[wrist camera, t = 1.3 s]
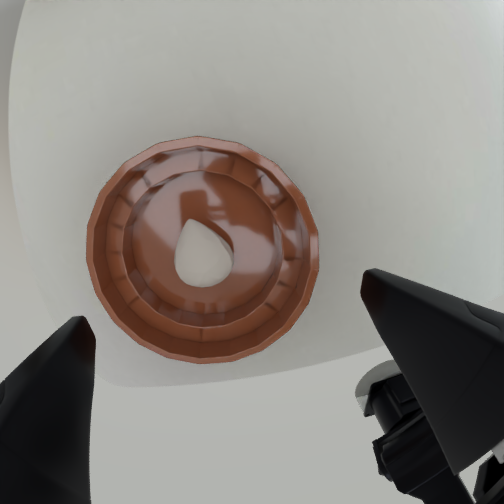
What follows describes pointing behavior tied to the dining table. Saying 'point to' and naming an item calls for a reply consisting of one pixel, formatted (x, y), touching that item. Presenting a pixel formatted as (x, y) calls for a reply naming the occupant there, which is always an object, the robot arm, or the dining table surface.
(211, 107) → the dining table surface
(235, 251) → the bowl
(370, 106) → the dining table surface
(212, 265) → the garlic clove
